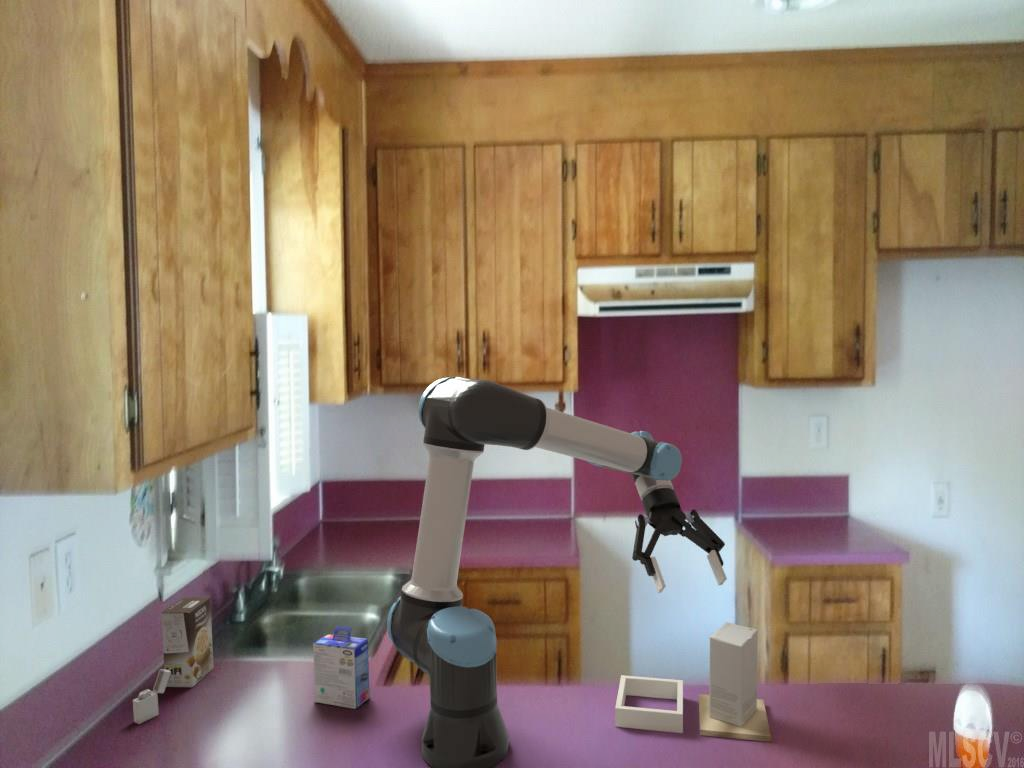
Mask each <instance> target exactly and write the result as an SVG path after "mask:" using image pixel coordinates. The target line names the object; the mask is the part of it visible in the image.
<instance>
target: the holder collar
mask: <svg viewBox="0 0 1024 768" xmlns="http://www.w3.org/2000/svg"><path fill="white" fill-rule="evenodd" d="M628 685H632V686H628ZM627 696H634V697H641V698H642V697H645V698H656V699H668V700H676V710H671V709H670V710H669V709H659V708H657V709H656V708H650V707H649V708H647V707H635V706H626V705H625V703H626V698H627ZM615 702H616V703H615V709H614V712H615V715H614V717H615V719H614V720H615V724H614V725H615V727H616V728H624V729H626V728H627V729H638V730H646V731H657V732H658V731H659V732H666V733H667V732H668V733H677V734H683V733H684V680H683V679H672V678H671V679H670V678H658V677H649V676H637V675H636V676H635V675H634V676H633V675H622V674H621V675H620V679H619V686H618V692H617V697H616V701H615Z"/></svg>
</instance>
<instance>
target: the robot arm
mask: <svg viewBox="0 0 1024 768" xmlns="http://www.w3.org/2000/svg"><path fill="white" fill-rule="evenodd" d="M418 403H419V404H418V408H417V413H418V418H419V421H420V422H421V424H422V426H423V428H424V434H423V435H424V436H423V444H422V445H423V446H424V448H425V449H426V451H427V452H428V453H429V455H428V456H429V457H428V463H427V470H426V477H425V484H424V491H423V497H422V504H421V505H422V506H421V512H420V519H419V526H418V533H417V540H416V546H415V547H416V548H415V553H414V560H413V566H412V574H411V579H410V580H409V581H407V582H406V583H405V584H404V585H402V588H401V593H400V596H399V597H398V598H397V601H395V602H394V603H393V604H392V606H391V608H390V610H389V612H388V615H387V619H386V620H387V621H386V622H387V623H386V628H387V629H386V631H387V633H388V637H389V640H390V642H391V643H392V645H393V647H395V649H396V650H397V651H398V652H399V653H400V655H401V656H402V657H404V658H405V659H407V660H409V661H410V662H412V664H414V665H415V666H416V667H417V668H419V669H420V670H421V672H423V673H424V674H425V675H427V676H428V679H429V697H430V699H429V700H430V702H429V703H430V709H429V712H428V716H427V720H426V722H425V726H424V729H423V732H422V733H423V734H422V736H421V755H422V759H423V760H424V761H425V762H426V763H427V765H429V766H430V767H432V768H492V767H494V766H496V765H498V764H499V763H500V762H501V761H502V760H504V759H505V757H506V756H507V754H508V752H509V732H508V729H507V727H506V723H505V719H504V717H503V715H502V713H501V710H500V707H499V704H498V681H497V680H498V679H497V678H498V674H497V671H498V670H497V669H498V667H497V663H498V662H497V648H498V640H497V636H496V628H495V624H494V622H493V621H492V618H490V616H488V615H487V614H486V613H485V612H484V611H481V610H479V609H476V608H474V607H473V608H468V606H463V604H462V603H463V598H464V594H463V592H462V591H461V589H460V588H459V586H458V585H457V584H458V583H457V582H458V578H459V577H458V575H459V568H460V563H461V554H462V548H463V541H464V535H465V534H464V533H465V529H466V521H467V513H468V506H469V499H470V494H471V493H470V492H471V486H472V478H473V473H474V471H473V470H474V465H475V460H476V459H478V457H480V456H481V455H482V454H483V453H484V451H485V445H489V446H499V447H500V446H502V447H509V448H515V449H519V450H524V451H530V450H533V449H534V448H537V449H541V450H545V451H548V452H552V453H557V454H559V455H564V456H567V457H570V458H576V459H580V460H583V461H586V462H587V463H589V464H590V465H593V466H596V467H597V468H599V467H600V468H605V469H608V470H609V469H610V470H614V471H619V472H623V473H627V474H631V477H632V479H633V482H634V485H635V487H636V490H637V492H638V495H639V498H640V501H641V503H642V507H643V509H644V511H645V514H646V516H644V514H642V513H639V514H638V515H637V517H636V519H635V521H634V523H635V527H636V533H635V538H634V545H633V551H632V557H631V558H632V560H633V561H634V562H635V561H640V564H641V565H644V568H645V571H646V574H647V576H648V577H652V580H653V584H654V586H655V588H656V591H657V593H658V594H659V593H660V594H661V593H662V592H663V591H664V590H665V588H666V583H665V580H664V577H663V575H662V572H661V569H660V566H659V564H658V561H657V558H656V556H651V555H652V554H653V551H654V549H655V547H656V544H657V542H658V541H659V538H660V536H661V535H662V536H664V537H667V536H678V535H680V536H681V537H682V538H686V539H688V540H689V541H691V542H692V543H694V545H696V546H697V547H699V548H700V549H702V550H703V551H704V552H706V553H707V556H706V558H707V560H708V563H709V566H710V568H711V570H712V573H713V576H714V577H715V580H716V583H717V585H718V586H722V585H724V583H725V582H726V581H727V580H728V578H727V576H726V572H725V571H724V568H723V566H724V561H723V558H722V555H721V554H720V552H721V550H722V549H724V546H726V543H725V542H724V541H723V539H722V538H720V537H719V536H718V535H717V533H716V532H715V531H714V530H713V529H712V528H711V527H710V526H709V525H708V524H707V523H706V522H705V521H704V520H703V519H702V518H701V516H700V515H699V513H698V511H697V510H696V509H692V510H691V511H689V512H684V511H683V510H682V508H681V503H680V501H679V499H678V495H677V494H676V491H675V490H674V486H673V483H672V481H671V480H673V479H675V478H676V477H677V475H679V473H680V471H681V467H682V463H683V461H682V460H683V459H682V454H681V451H680V449H679V448H678V447H677V446H675V445H674V444H671V443H668V442H665V441H658V440H657V441H656V440H654V438H653V436H652V434H651V433H649V432H648V431H644V430H640V431H633V432H631V433H630V432H628V431H625V430H622V429H621V430H620V429H618V428H614V427H611V426H609V425H605V424H601V423H599V422H595V421H592V420H588V419H587V418H586V419H585V418H582V417H579V416H575V415H572V414H569V413H566V412H564V411H563V412H562V411H560V410H557V409H553V408H550V407H547V406H546V404H545V402H544V401H543V400H541V399H540V398H536V397H535V396H534V397H533V396H530V395H527V394H525V393H523V392H520V391H518V390H515V389H513V388H511V387H508V386H506V385H503V384H500V383H498V382H495V381H492V380H487V379H478V378H477V379H475V378H467V377H463V376H451V377H443V378H439V379H437V380H435V381H434V382H432V383H431V384H429V386H427V388H426V389H425V390H424V392H423V393H422V394H421V396H420V399H419V402H418ZM647 525H649V526H650V527H651V528H653V530H654V531H652V532H653V533H652V534H651V537H650V540H649V542H648V543H647V546H646V548H645V551H643V545H644V540H645V533H646V527H647ZM683 528H684V529H683Z"/></svg>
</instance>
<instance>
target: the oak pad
mask: <svg viewBox="0 0 1024 768" xmlns="http://www.w3.org/2000/svg"><path fill="white" fill-rule="evenodd" d="M698 711H699V713H698V714H699V719H698V720H699V735H700V736H709V737H718V738H727V739H736V740H749V741H757V742H758V741H760V742H767V743H770V742H772V734H771V729H770V726H769V725H770V724H769V721H768V716H767V715H768V714H767V711H766V707H765V701H764V699H762V698H757V709H756V710H755V711H754V713H753V714H752V715H751V716H750V718H749V719H748V720H747V721H746V722H745V724H744V725H743V726H742V727H738V726H735V725H732V724H729V723H726V722H723V721H720V720H717V719H714V718H711V717H709V694H704V693H703V694H701V693H698Z"/></svg>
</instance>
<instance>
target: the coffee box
mask: <svg viewBox="0 0 1024 768" xmlns="http://www.w3.org/2000/svg"><path fill="white" fill-rule="evenodd" d="M211 608H212V607H211V597H205V596H204V597H203V596H202V597H200V596H198V597H197V596H196V597H195V596H192V597H183V598H181V599H179V600H178V601H177V602H175V603H173V604H172V605H171V606H169V607H167V608H166V609H164V610H163V611H161V612H160V614H161V631H162V632H161V633H162V634H161V635H162V651H163V653H162V655H163V669H166V670H169V671H171V673H170V676H169V679H168V682H167V685H166V688H193V687H194V686H196V685H197V684H198V683H199V682H201V680H203V678H204V677H205V676H207V675H208V674H209V673H210V672H211V671H212V670H213V669H214V652H213V650H214V649H213V632H212V631H213V630H212V629H213V628H212V627H213V626H212V612H211V611H212V609H211Z"/></svg>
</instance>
